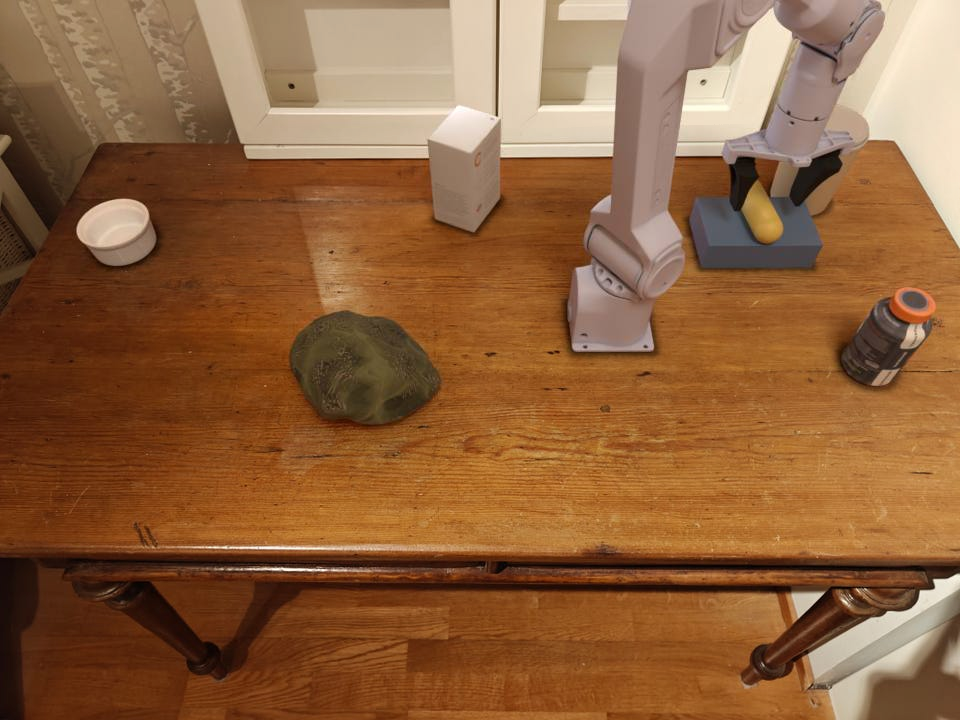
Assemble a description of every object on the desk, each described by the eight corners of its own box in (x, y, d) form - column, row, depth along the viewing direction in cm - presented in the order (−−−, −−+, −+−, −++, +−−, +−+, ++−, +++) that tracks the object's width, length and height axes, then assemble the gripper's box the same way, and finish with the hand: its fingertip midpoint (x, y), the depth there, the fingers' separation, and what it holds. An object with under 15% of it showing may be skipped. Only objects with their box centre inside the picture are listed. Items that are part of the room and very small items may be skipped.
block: (701, 268, 89) (709, 245, 86) (688, 220, 94) (695, 197, 91) (811, 268, 89) (823, 245, 86) (792, 219, 94) (803, 196, 91)
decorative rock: (407, 324, 86) (405, 261, 79) (450, 421, 76) (453, 360, 69) (285, 351, 82) (271, 287, 74) (313, 458, 72) (301, 396, 65)
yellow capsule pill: (786, 244, 85) (788, 225, 82) (758, 252, 86) (759, 233, 83) (757, 188, 91) (757, 169, 89) (731, 196, 92) (730, 177, 89)
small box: (461, 185, 99) (457, 103, 89) (501, 198, 97) (502, 116, 87) (432, 219, 95) (425, 138, 84) (474, 234, 93) (472, 153, 83)
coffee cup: (841, 190, 98) (880, 114, 88) (822, 229, 93) (861, 154, 84) (776, 168, 101) (806, 92, 91) (754, 205, 96) (784, 130, 87)
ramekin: (143, 274, 89) (129, 249, 86) (78, 266, 90) (62, 241, 87) (172, 226, 95) (160, 201, 91) (110, 220, 95) (96, 195, 92)
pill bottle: (898, 391, 78) (952, 327, 69) (842, 383, 78) (889, 318, 69) (890, 349, 81) (941, 283, 72) (837, 342, 82) (881, 274, 73)
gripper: (752, 133, 73) (717, 230, 83) (886, 123, 73) (834, 220, 84) (730, 94, 77) (700, 191, 88) (857, 85, 78) (811, 182, 89)
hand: (764, 203), depth 86 cm, fingers open, 7 cm apart
